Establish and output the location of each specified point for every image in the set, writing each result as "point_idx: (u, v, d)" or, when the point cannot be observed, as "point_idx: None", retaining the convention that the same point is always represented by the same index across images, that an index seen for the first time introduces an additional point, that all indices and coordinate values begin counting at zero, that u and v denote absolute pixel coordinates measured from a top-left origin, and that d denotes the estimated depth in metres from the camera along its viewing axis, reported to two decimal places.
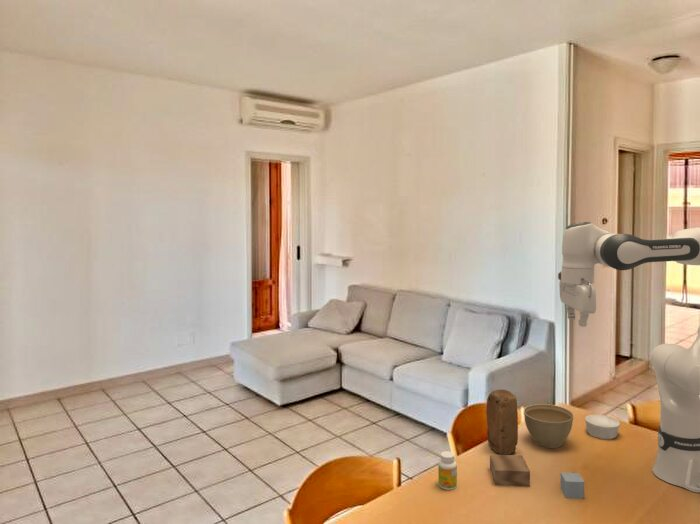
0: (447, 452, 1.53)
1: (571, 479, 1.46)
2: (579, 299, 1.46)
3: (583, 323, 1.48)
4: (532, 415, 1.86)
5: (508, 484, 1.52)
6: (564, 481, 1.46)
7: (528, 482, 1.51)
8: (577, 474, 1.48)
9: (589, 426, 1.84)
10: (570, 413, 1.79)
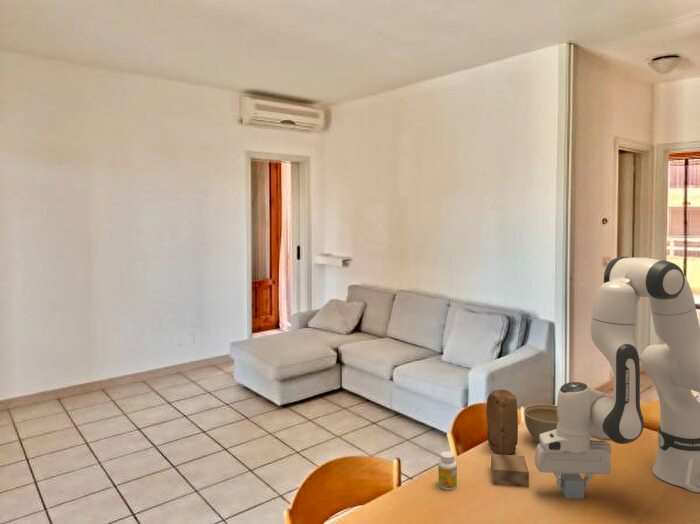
0: (447, 452, 1.53)
1: (571, 478, 1.46)
2: (600, 462, 1.44)
3: None
4: (532, 415, 1.86)
5: (506, 484, 1.52)
6: (564, 481, 1.46)
7: (527, 483, 1.51)
8: (577, 474, 1.48)
9: None
10: None
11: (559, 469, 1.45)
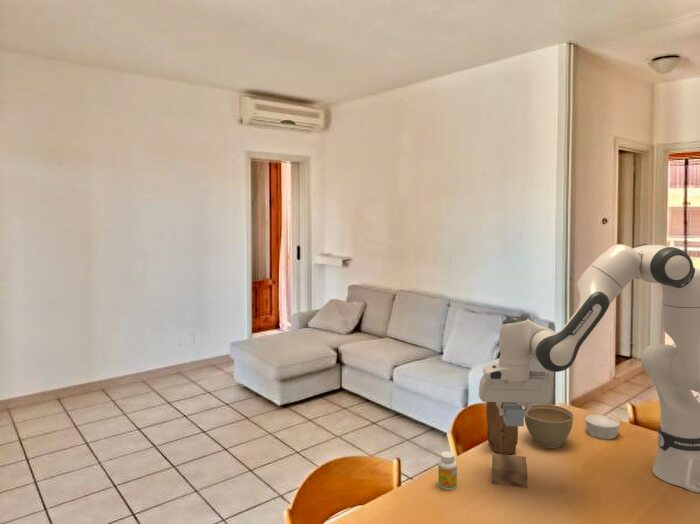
0: (447, 452, 1.53)
1: (512, 408, 1.53)
2: (539, 391, 1.51)
3: None
4: (532, 415, 1.86)
5: (505, 483, 1.52)
6: (505, 410, 1.53)
7: (525, 483, 1.51)
8: (519, 404, 1.55)
9: (589, 426, 1.84)
10: (570, 413, 1.79)
11: (500, 398, 1.52)
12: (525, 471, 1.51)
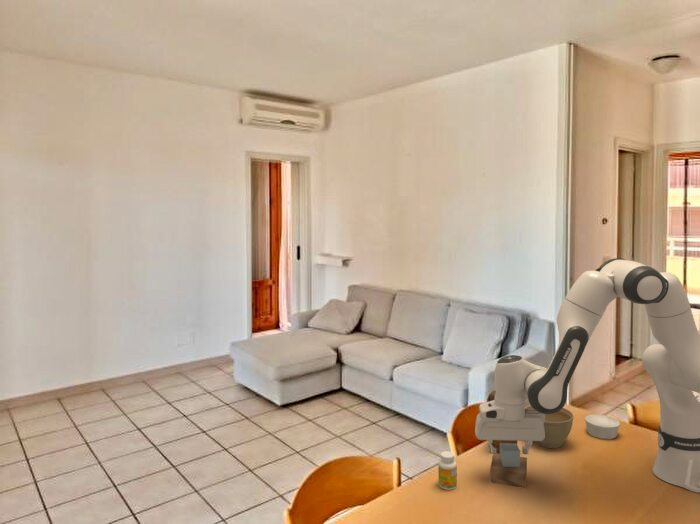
0: (447, 452, 1.53)
1: (508, 448, 1.55)
2: (534, 429, 1.53)
3: None
4: None
5: (503, 483, 1.53)
6: (502, 451, 1.55)
7: (524, 484, 1.50)
8: (515, 444, 1.57)
9: (589, 426, 1.84)
10: (570, 413, 1.79)
11: (496, 436, 1.54)
12: (523, 471, 1.51)
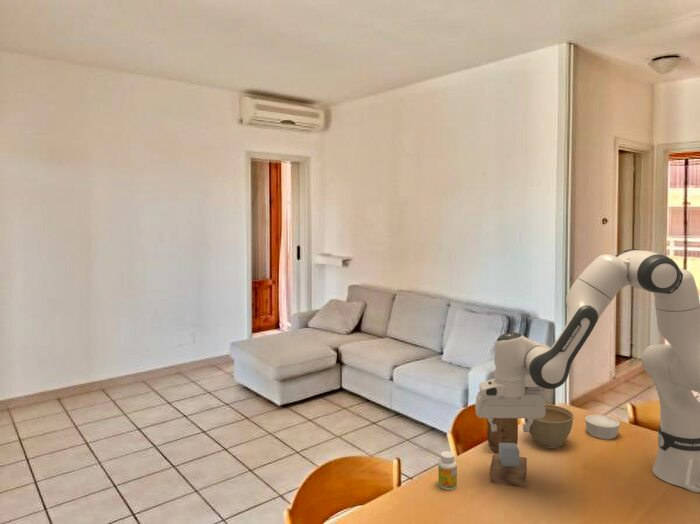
0: (447, 452, 1.53)
1: (507, 448, 1.55)
2: (534, 407, 1.52)
3: None
4: None
5: (503, 483, 1.53)
6: (501, 450, 1.55)
7: (523, 484, 1.50)
8: (514, 444, 1.58)
9: (589, 426, 1.84)
10: (570, 413, 1.79)
11: (497, 414, 1.54)
12: (523, 472, 1.51)
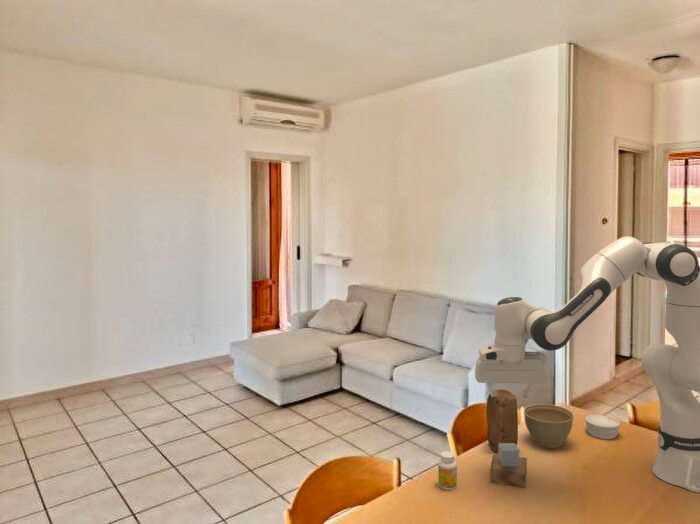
0: (447, 452, 1.53)
1: (507, 448, 1.55)
2: (534, 371, 1.51)
3: None
4: (532, 415, 1.86)
5: (503, 483, 1.53)
6: (501, 450, 1.55)
7: (523, 484, 1.50)
8: (513, 444, 1.58)
9: (589, 426, 1.84)
10: (570, 413, 1.79)
11: (496, 379, 1.53)
12: (523, 472, 1.51)
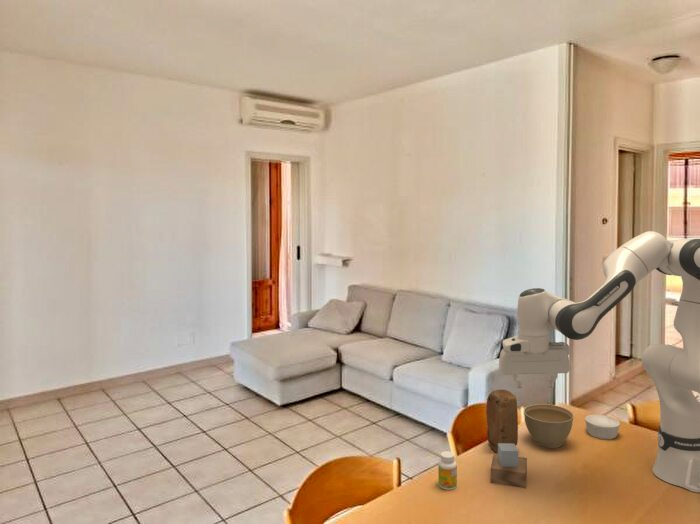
0: (447, 452, 1.53)
1: (506, 448, 1.55)
2: (559, 362, 1.52)
3: None
4: (532, 415, 1.86)
5: (503, 483, 1.53)
6: (500, 451, 1.55)
7: (524, 484, 1.50)
8: (513, 444, 1.57)
9: (589, 426, 1.84)
10: (570, 413, 1.79)
11: (521, 370, 1.53)
12: (524, 472, 1.51)
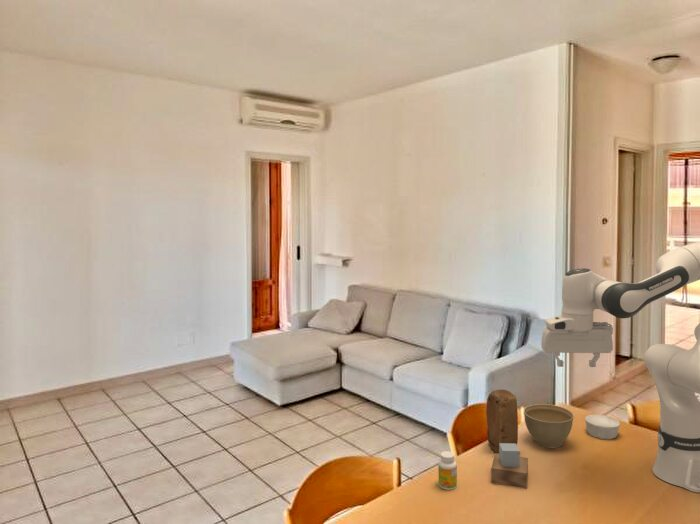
0: (447, 452, 1.53)
1: (508, 448, 1.55)
2: (602, 341, 1.54)
3: None
4: (532, 415, 1.86)
5: (504, 483, 1.53)
6: (501, 451, 1.55)
7: (525, 484, 1.50)
8: (514, 444, 1.57)
9: (589, 426, 1.84)
10: (570, 413, 1.79)
11: (564, 349, 1.55)
12: (525, 472, 1.51)
